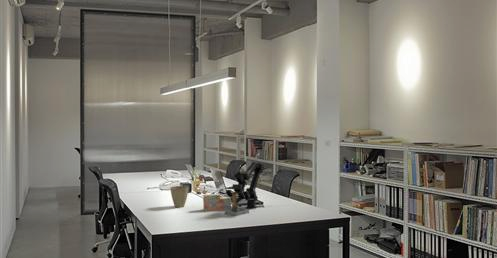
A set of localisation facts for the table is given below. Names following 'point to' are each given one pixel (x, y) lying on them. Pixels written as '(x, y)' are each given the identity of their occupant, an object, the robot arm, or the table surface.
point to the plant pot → (179, 195)
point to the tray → (241, 211)
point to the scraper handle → (234, 202)
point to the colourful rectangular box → (216, 202)
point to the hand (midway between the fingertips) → (234, 203)
